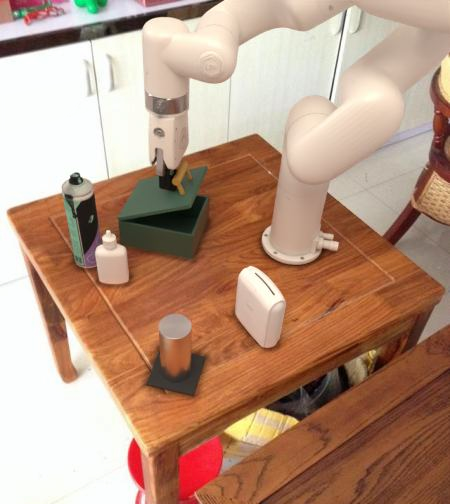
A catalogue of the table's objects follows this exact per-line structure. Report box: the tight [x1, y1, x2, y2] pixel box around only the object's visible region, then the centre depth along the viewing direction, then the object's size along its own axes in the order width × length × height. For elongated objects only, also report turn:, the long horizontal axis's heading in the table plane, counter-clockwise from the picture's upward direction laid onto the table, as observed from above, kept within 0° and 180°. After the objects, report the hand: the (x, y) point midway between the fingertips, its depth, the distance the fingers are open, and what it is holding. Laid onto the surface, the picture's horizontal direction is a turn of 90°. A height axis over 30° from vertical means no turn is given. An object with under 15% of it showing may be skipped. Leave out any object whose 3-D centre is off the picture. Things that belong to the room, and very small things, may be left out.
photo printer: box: [234, 265, 287, 349], centre depth 96 cm, size 10×4×12 cm, turn 32°
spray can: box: [61, 171, 103, 269], centre depth 103 cm, size 6×6×20 cm
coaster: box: [145, 349, 207, 397], centre depth 94 cm, size 8×8×1 cm
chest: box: [118, 193, 210, 260], centre depth 115 cm, size 15×13×6 cm
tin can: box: [158, 313, 193, 383], centre depth 89 cm, size 5×5×12 cm
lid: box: [117, 160, 209, 221], centre depth 108 cm, size 16×13×5 cm
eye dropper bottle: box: [95, 229, 130, 285], centre depth 103 cm, size 4×6×12 cm
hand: (168, 187), depth 108 cm, fingers closed
